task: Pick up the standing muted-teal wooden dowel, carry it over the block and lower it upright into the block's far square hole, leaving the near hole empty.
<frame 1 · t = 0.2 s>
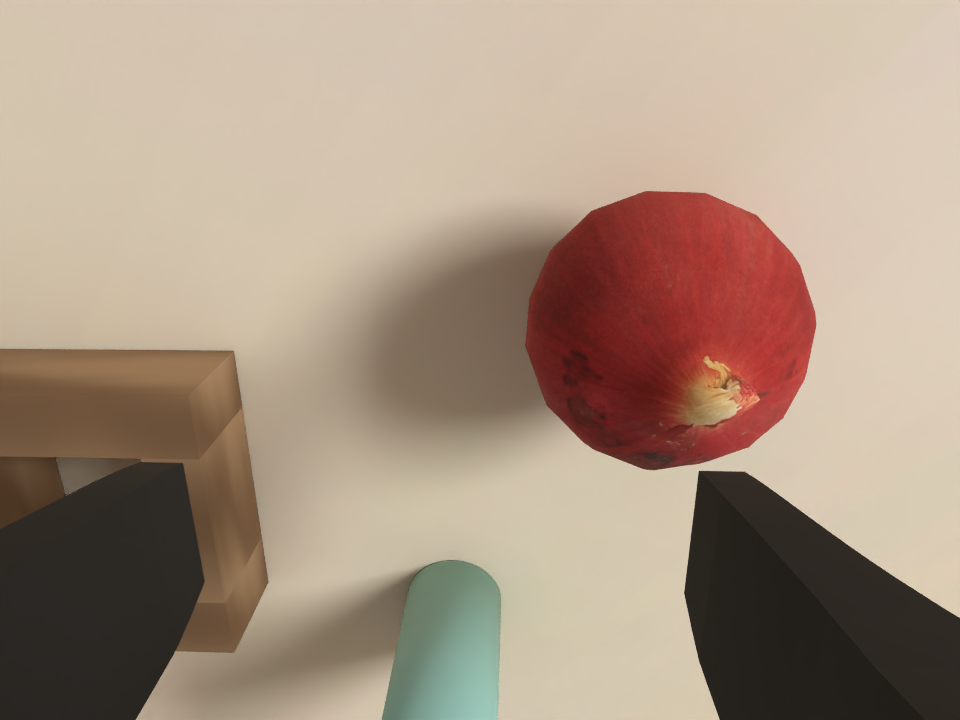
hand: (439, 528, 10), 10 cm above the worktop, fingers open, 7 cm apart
peg: (454, 598, 23), on the worktop
onion: (633, 280, 19), on the worktop
hole block: (11, 470, 22), on the worktop
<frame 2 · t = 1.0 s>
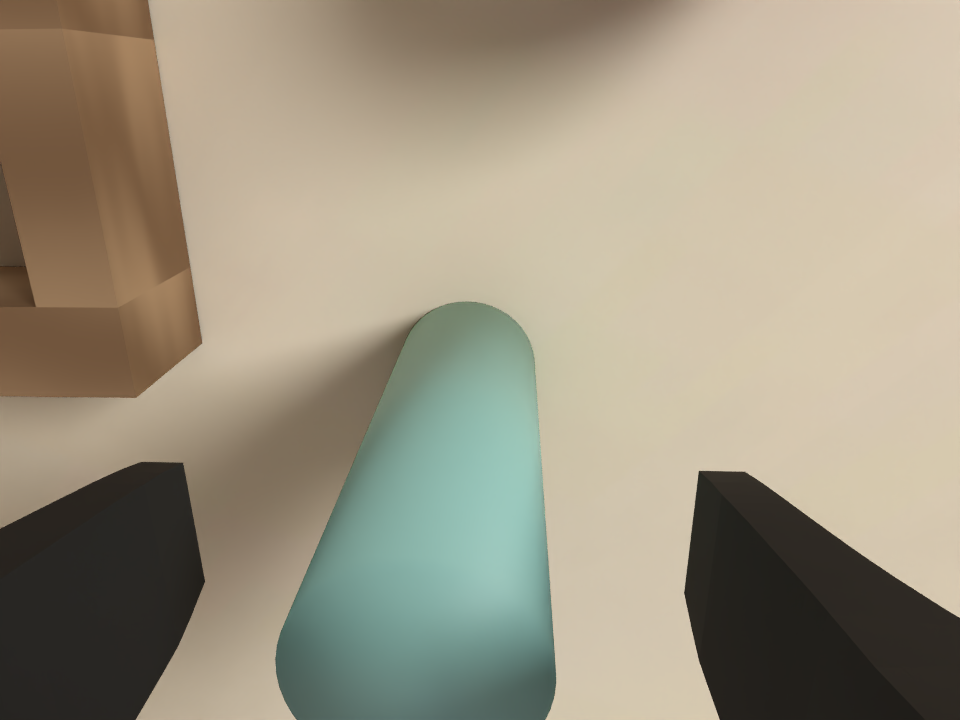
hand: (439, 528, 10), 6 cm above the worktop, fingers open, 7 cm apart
peg: (467, 365, 16), on the worktop
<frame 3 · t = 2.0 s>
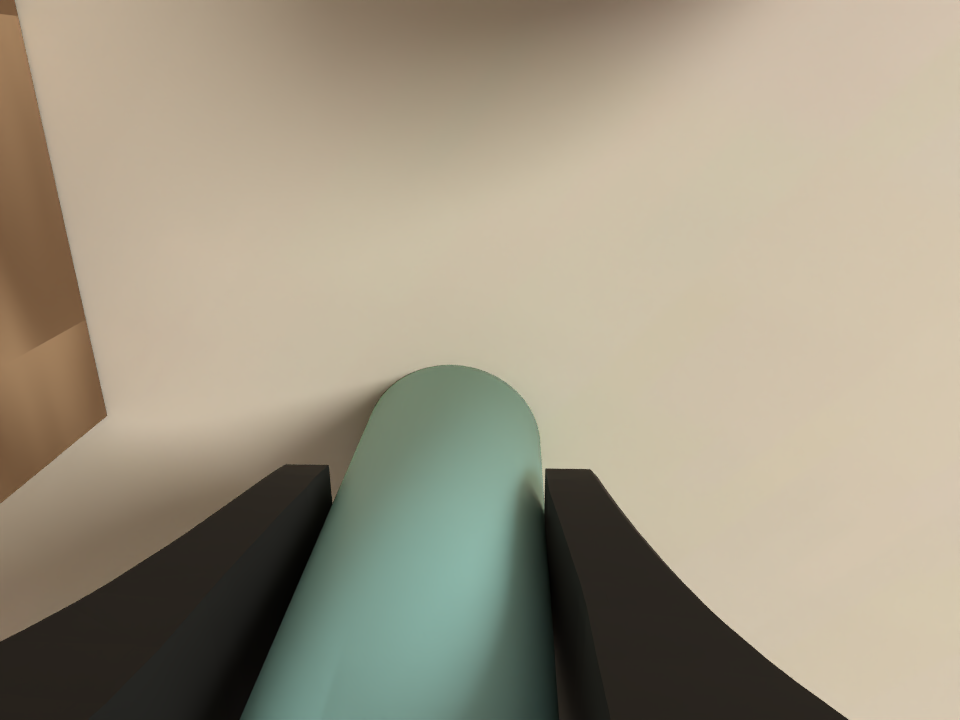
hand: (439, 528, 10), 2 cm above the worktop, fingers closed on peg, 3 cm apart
peg: (452, 445, 12), on the worktop, touching gripper
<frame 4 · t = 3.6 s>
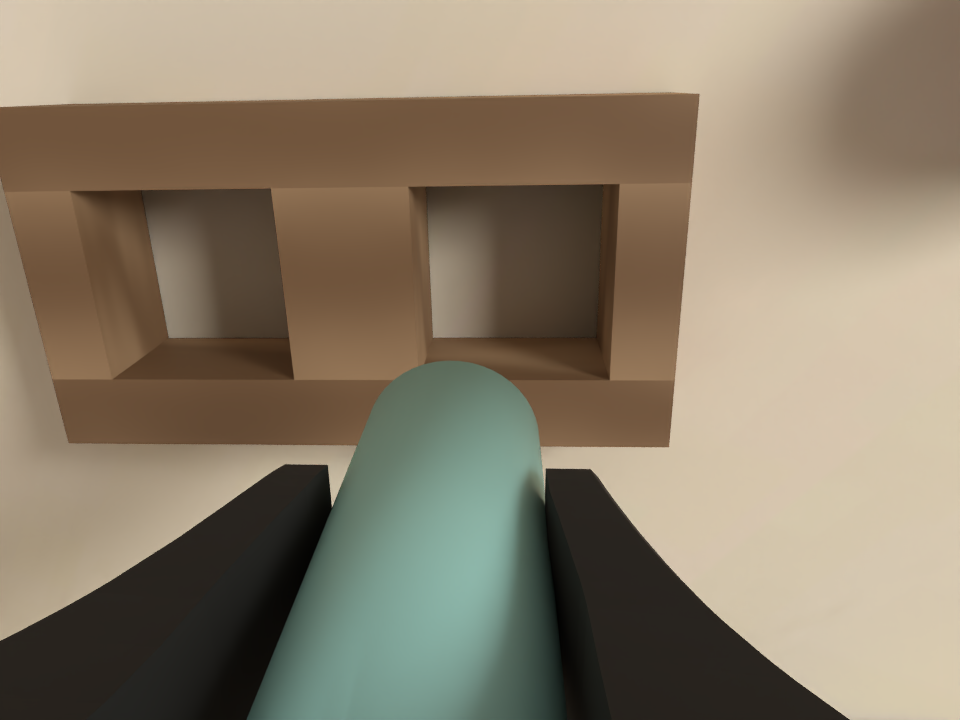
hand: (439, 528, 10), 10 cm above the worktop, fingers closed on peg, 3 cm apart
peg: (452, 441, 12), point 8 cm above the worktop, touching gripper
hole block: (373, 258, 19), on the worktop
when the fingers open (4 cm above the worktop, at t = 5.4 s): peg drops 1 cm, resting in hole block.
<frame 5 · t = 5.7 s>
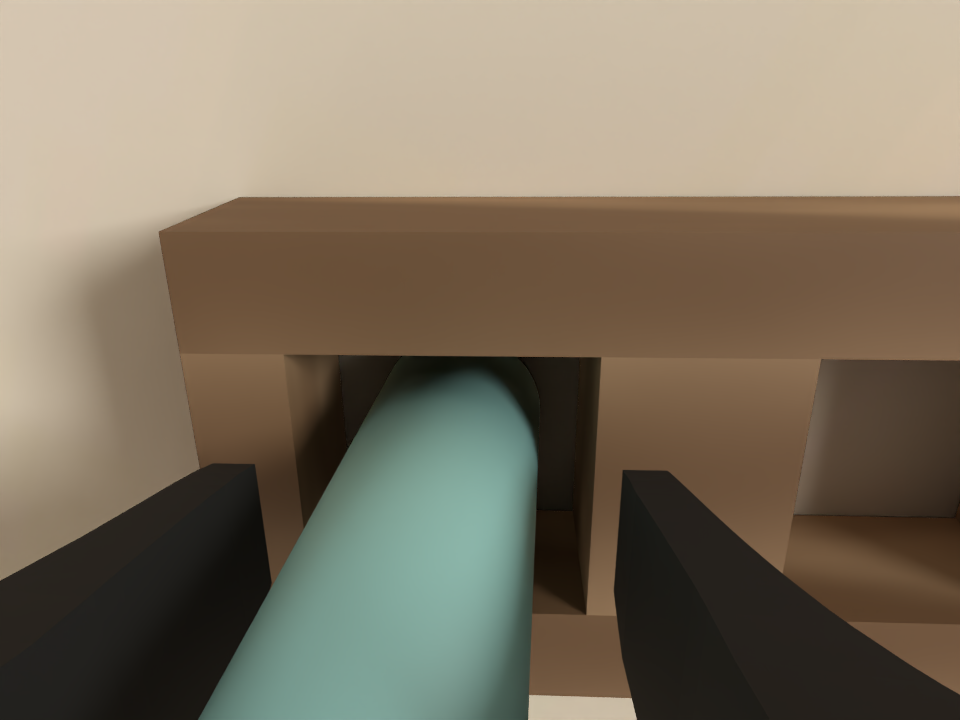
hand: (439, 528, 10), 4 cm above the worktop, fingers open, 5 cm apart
peg: (461, 407, 14), resting in hole block
hole block: (656, 411, 13), on the worktop
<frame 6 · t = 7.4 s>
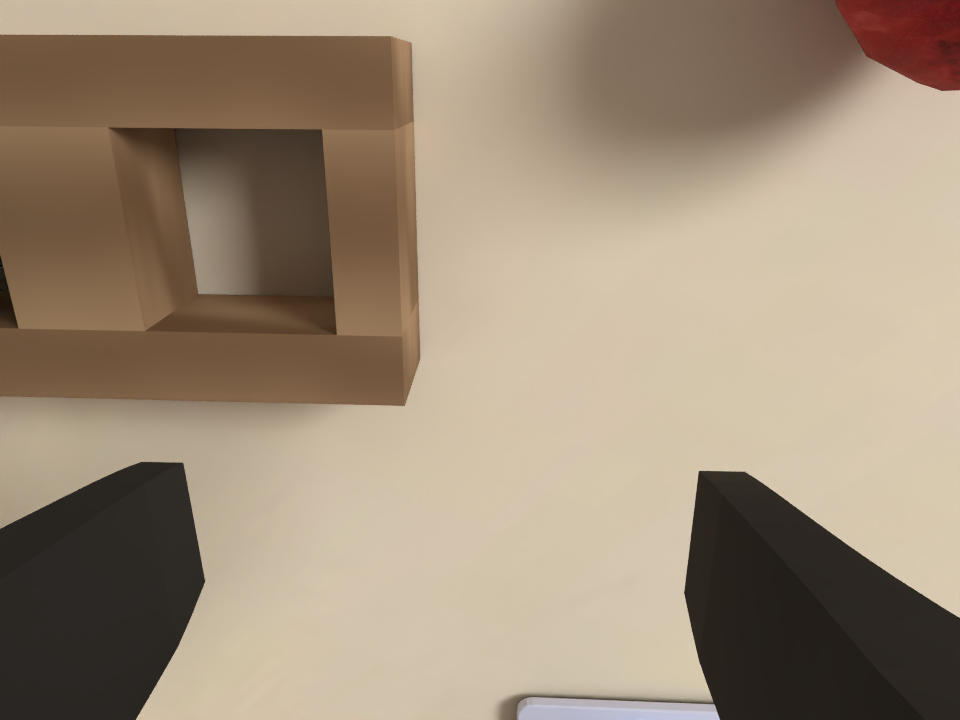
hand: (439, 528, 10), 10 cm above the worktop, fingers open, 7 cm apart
hole block: (129, 209, 18), on the worktop
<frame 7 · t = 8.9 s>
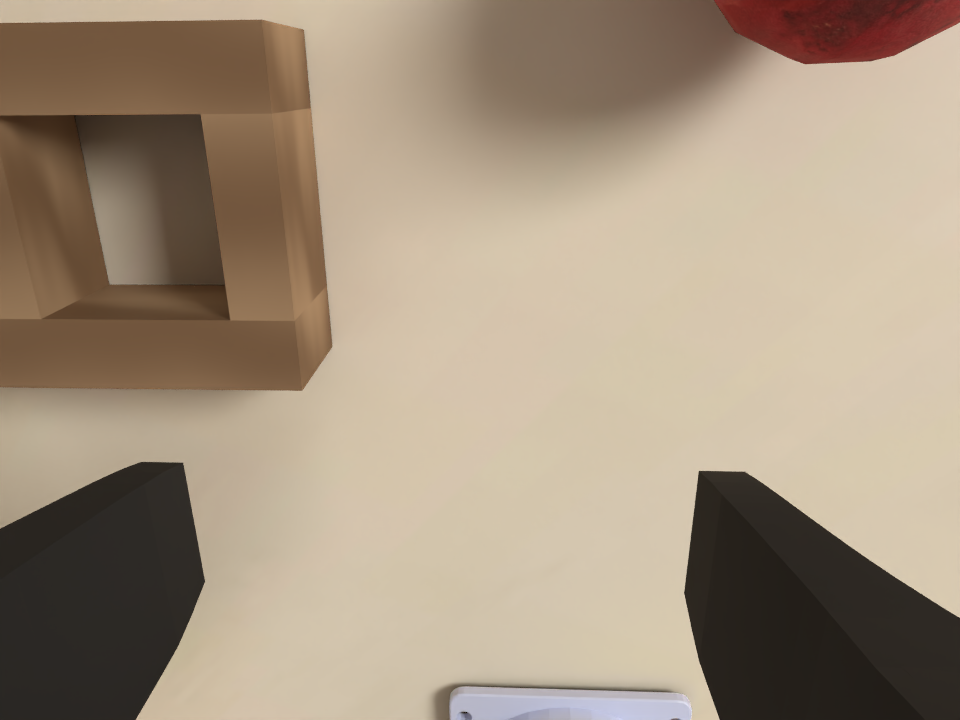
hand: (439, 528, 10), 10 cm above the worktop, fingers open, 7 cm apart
hole block: (36, 201, 19), on the worktop
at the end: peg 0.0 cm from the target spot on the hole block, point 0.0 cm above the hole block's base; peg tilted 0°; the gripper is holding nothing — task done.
